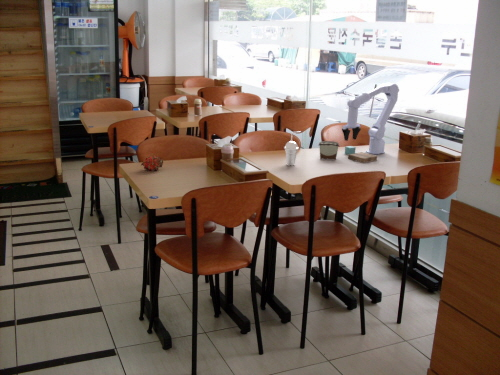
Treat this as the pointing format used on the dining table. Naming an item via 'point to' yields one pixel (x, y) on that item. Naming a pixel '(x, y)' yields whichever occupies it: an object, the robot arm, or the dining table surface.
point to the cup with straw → (291, 151)
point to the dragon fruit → (152, 163)
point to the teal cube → (349, 150)
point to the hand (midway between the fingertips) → (350, 139)
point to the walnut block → (362, 157)
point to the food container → (328, 150)
